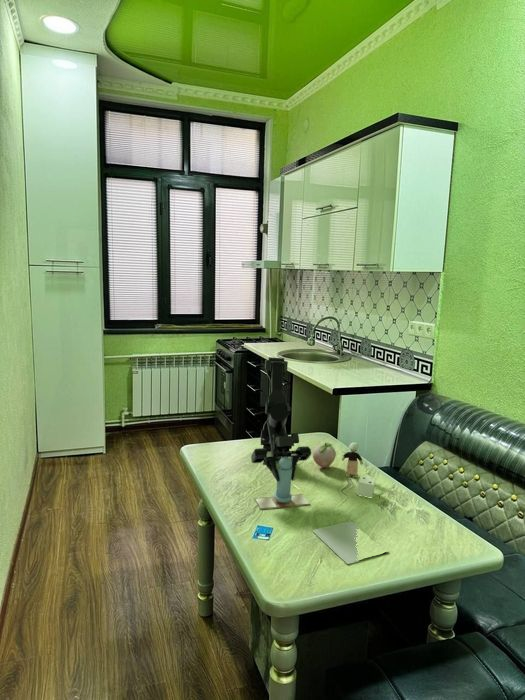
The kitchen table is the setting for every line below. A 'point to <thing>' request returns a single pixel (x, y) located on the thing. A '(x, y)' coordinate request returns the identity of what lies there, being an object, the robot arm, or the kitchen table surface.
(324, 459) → the decorative fruit
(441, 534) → the kitchen table surface
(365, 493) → the die
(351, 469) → the grandmother figurine
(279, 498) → the pawn
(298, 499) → the board
